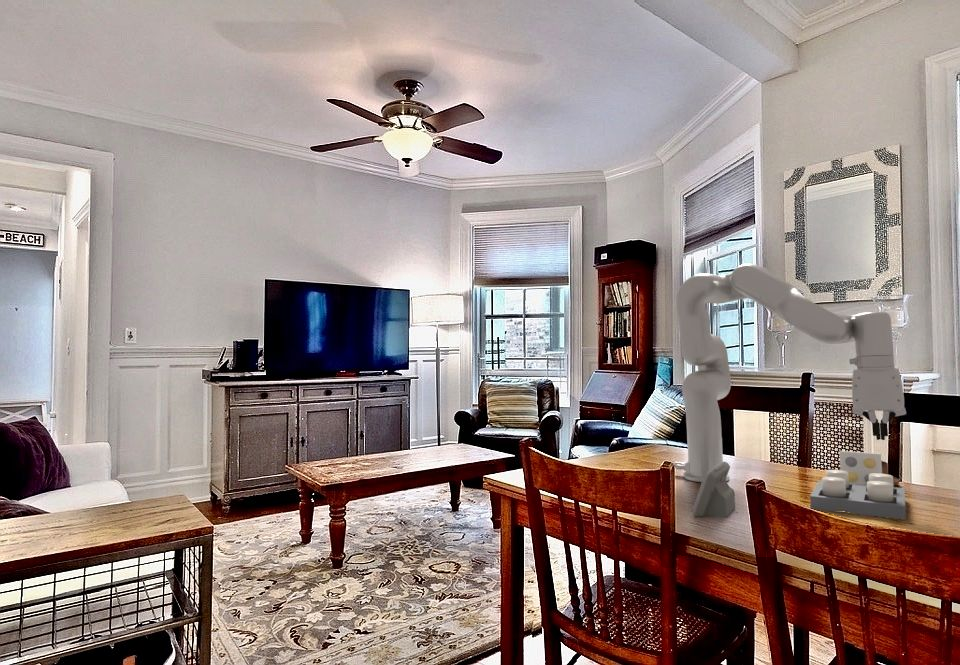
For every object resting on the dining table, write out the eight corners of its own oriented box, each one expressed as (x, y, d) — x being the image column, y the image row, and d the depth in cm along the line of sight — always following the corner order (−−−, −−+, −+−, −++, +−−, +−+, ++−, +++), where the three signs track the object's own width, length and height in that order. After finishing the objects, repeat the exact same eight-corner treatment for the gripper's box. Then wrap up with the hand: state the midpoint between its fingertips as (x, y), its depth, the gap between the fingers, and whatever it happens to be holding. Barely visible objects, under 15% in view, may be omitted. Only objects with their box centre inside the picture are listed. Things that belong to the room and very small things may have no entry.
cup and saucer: (909, 490, 148) (907, 466, 148) (857, 490, 151) (856, 466, 151) (886, 480, 160) (885, 457, 160) (838, 479, 162) (837, 457, 163)
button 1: (821, 495, 136) (820, 480, 136) (823, 490, 140) (822, 476, 140) (845, 497, 133) (844, 482, 133) (846, 493, 137) (846, 478, 137)
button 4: (868, 491, 138) (868, 476, 138) (869, 486, 141) (869, 472, 142) (893, 493, 135) (892, 478, 135) (893, 489, 139) (893, 474, 139)
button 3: (867, 500, 130) (866, 484, 130) (868, 495, 134) (867, 480, 134) (893, 502, 127) (892, 486, 128) (893, 497, 131) (892, 482, 131)
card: (838, 490, 150) (836, 452, 150) (839, 488, 153) (837, 450, 153) (885, 495, 144) (883, 455, 144) (885, 492, 147) (883, 453, 147)
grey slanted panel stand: (711, 500, 145) (709, 458, 146) (747, 507, 139) (745, 462, 139) (679, 515, 134) (677, 469, 135) (717, 522, 128) (715, 474, 128)
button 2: (825, 486, 143) (824, 472, 143) (827, 482, 147) (826, 469, 147) (848, 489, 140) (847, 474, 140) (849, 484, 144) (848, 470, 144)
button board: (810, 508, 135) (810, 496, 135) (819, 491, 150) (818, 480, 150) (905, 520, 124) (905, 506, 125) (905, 500, 139) (904, 488, 139)
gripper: (837, 364, 140) (842, 440, 140) (914, 362, 131) (920, 443, 131) (840, 363, 146) (845, 435, 146) (913, 361, 137) (919, 438, 137)
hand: (880, 439), depth 138 cm, fingers closed
